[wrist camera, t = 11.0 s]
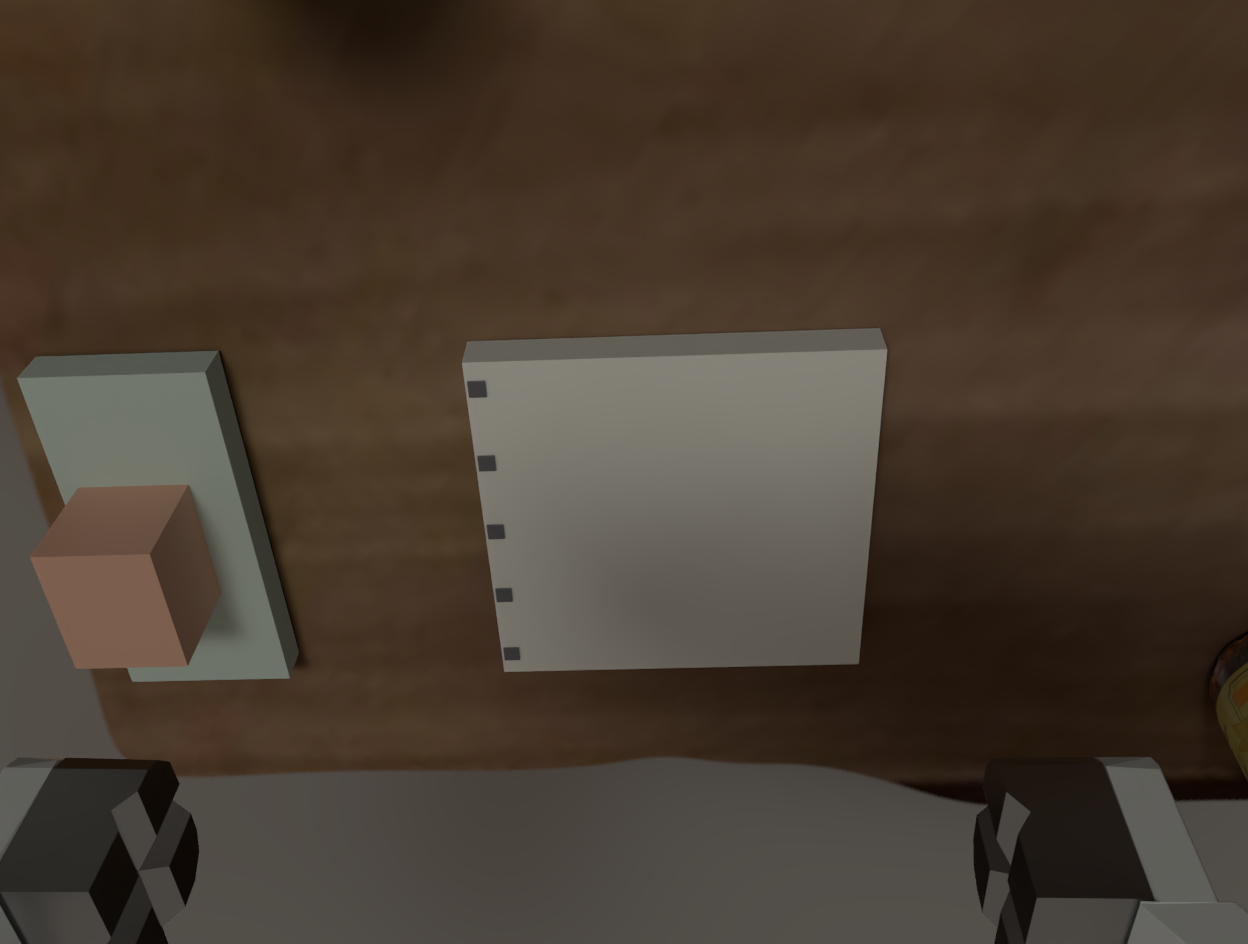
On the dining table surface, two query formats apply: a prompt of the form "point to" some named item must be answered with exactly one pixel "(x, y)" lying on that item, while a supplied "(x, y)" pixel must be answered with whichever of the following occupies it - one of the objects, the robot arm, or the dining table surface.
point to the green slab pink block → (155, 520)
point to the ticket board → (678, 496)
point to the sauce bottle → (1233, 698)
